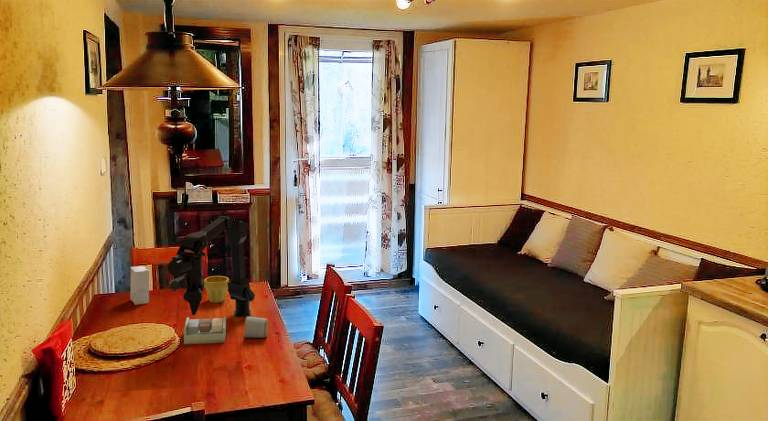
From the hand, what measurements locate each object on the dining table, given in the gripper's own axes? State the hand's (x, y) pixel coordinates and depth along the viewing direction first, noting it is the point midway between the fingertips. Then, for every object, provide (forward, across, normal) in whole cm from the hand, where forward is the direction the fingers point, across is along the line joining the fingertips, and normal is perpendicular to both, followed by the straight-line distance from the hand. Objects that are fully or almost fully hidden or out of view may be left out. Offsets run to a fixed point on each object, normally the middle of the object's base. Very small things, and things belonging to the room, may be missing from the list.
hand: (194, 311), depth 219 cm
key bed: (+10, 0, +4) cm, 11 cm away
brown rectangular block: (+7, 0, +4) cm, 8 cm away
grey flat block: (+7, 0, 0) cm, 7 cm away
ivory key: (+7, 0, +8) cm, 11 cm away
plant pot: (+10, -43, +7) cm, 44 cm away
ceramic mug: (+10, +1, +22) cm, 25 cm away
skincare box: (+10, -45, -25) cm, 53 cm away
